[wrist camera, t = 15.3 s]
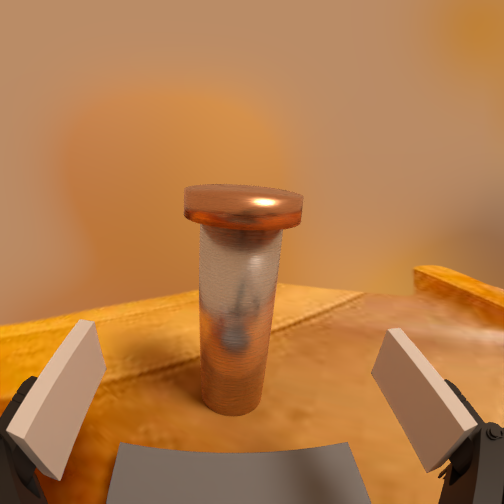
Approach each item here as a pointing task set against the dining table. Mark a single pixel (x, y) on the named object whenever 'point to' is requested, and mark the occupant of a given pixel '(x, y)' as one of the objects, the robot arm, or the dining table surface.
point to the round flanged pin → (237, 286)
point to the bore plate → (236, 477)
